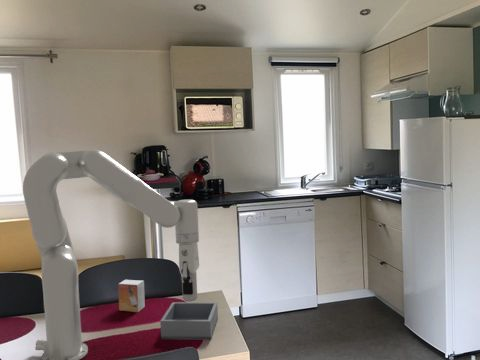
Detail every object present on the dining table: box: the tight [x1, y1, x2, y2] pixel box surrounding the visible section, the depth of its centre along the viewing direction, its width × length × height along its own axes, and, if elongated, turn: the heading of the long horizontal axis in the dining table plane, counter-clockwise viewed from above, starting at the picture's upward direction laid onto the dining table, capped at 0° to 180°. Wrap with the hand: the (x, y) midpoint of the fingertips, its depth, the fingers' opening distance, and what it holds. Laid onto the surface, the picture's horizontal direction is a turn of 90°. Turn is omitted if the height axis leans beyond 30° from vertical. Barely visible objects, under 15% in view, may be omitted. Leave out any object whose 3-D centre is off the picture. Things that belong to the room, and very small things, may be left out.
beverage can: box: [181, 269, 198, 302], centre depth 141 cm, size 5×5×12 cm
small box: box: [118, 279, 146, 313], centre depth 161 cm, size 8×6×10 cm
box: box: [159, 301, 219, 341], centre depth 142 cm, size 16×16×6 cm
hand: (189, 290), depth 141 cm, fingers closed on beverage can, 4 cm apart
